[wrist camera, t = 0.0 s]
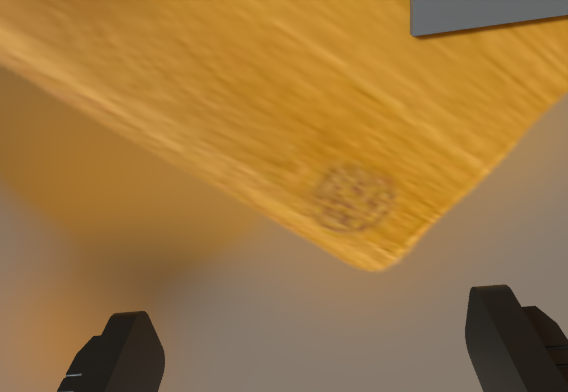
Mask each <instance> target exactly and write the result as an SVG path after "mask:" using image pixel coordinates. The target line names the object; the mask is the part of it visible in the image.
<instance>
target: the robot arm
mask: <svg viewBox="0 0 568 392" xmlns="http://www.w3.org/2000/svg"><path fill="white" fill-rule="evenodd" d="M465 339H466V344H467V349H468V353H469V356H470V359H471V361H472V364H473V366H474V369H475V371H476V374H477V376H478V379H479V381H480V384H481V387H482V389H483V391H484V392H568V339H567V338H566V336H565V335H564V333H563V332H562V330H561V329H560V327H559V326H558V324H557V323H556V322H555V321H553V320H552V319H551V318H550V317H549V316H547V315H546V314H545V313H544V312H542V311H541V310H540V309H538V308H537V307H536V306H528V307H521V305H520V304H519V302H518V300H517V299H516V297H515V295H514V293H513V292H512V290H511V289H510V287H508V286H507V285H493V286H479V287H472V288H471V290H470V295H469V302H468V310H467V319H466V326H465ZM164 367H165V355H164V350H163V347H162V345H161V343H160V340H159V338H158V336H157V334H156V332H155V329H154V327H153V325H152V322H151V320H150V318H149V316H148V314H147V313H146V312H145V311H138V312H124V313H115V314H113V315H112V316H111V317H110V319H109V321H108V323H107V325H106V327H105V329H104V331H103V333H102V335H101V336H93V337H92V338H91V340H89V341H88V343H87V344H86V345H85V346H84V347H83V348H82V349H81V350H80V351H79V352H78V353H77V354H76V356H75V358H74V360H73V362H72V364H71V366H70V368H69V369H68V371H67V373H66V378H64V379H63V381H62V382H61V384H60V387H59V388H58V390H57V392H158V389H159V386H160V383H161V380H162V376H163V373H164Z"/></svg>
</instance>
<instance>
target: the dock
mask: <svg viewBox="0 0 568 392" xmlns="http://www.w3.org/2000/svg"><path fill="white" fill-rule="evenodd" d="M562 15H568V0H410V34H411V35H412V36H419V35H426V34H433V33H441V32H448V31H455V30H462V29H469V28H476V27H484V26H491V25H498V24H505V23H512V22H519V21H526V20H534V19H541V18H548V17H555V16H562Z"/></svg>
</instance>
